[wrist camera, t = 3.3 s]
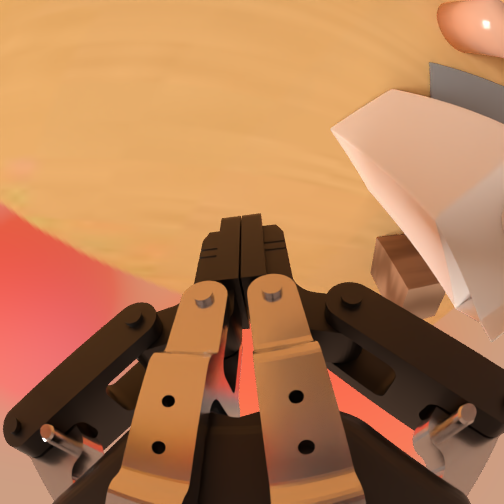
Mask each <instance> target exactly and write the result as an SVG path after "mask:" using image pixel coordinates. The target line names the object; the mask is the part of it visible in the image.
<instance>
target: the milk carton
mask: <svg viewBox="0 0 504 504" xmlns="http://www.w3.org/2000/svg"><path fill="white" fill-rule="evenodd" d="M331 131H332V133H333V134H334V136H335V137H336V139H337V140H338V142H339V143H340V145H341V146H342V148H343V149H344V151H345V152H346V154H347V155H348V157H349V159H350V160H351V162H352V163H353V165H354V167H355V168H356V170H357V171H358V173H359V175H360V176H361V178H362V180H363V181H364V183H365V185H366V187H367V188H368V190H369V191H370V192H371V194H372V195H373V196H374V197H375V198H376V199H377V200H378V202H379V203H380V204H381V205H382V206H383V208H384V209H385V210H386V211H387V212H388V214H389V215H390V216H391V217H392V218H393V220H394V221H395V222H396V223H397V225H398V226H399V227H400V228H401V230H402V231H403V232H404V234H405V235H406V236H407V237H408V239H409V240H410V241H411V243H412V244H413V245H414V247H415V248H416V249H417V251H418V252H419V254H420V255H421V256H422V258H423V259H424V261H425V262H426V263H427V265H428V266H429V268H430V269H431V271H432V272H433V274H434V275H435V277H436V278H437V280H438V281H439V283H440V284H441V286H442V287H443V289H444V290H445V292H446V294H447V295H448V297H449V298H450V300H451V302H452V303H453V305H454V307H455V309H456V310H458V311H460V312H462V313H464V314H466V315H467V316H469V317H471V318H473V319H474V320H476V321H478V322H480V323H481V325H482V327H483V329H484V331H485V332H486V334H487V336H488V338H489V340H490V341H491V342H493V341H494V340H496V339H497V338H498V337H500V336H501V335H502V334H503V333H504V124H502V123H500V122H498V121H496V120H493V119H491V118H489V117H486V116H484V115H481V114H479V113H476V112H473V111H471V110H468V109H465V108H462V107H459V106H456V105H453V104H450V103H447V102H443V101H440V100H437V99H433V98H429V97H426V96H422V95H418V94H414V93H410V92H405V91H401V90H396V89H391V90H389V91H387V92H385V93H384V94H382V95H380V96H379V97H377V98H376V99H374V100H372V101H371V102H369V103H368V104H366V105H365V106H363V107H361V108H360V109H358V110H357V111H355V112H354V113H352V114H351V115H349V116H348V117H346V118H345V119H343V120H342V121H340V122H339V123H337V124H336V125H334V126H333V127H332V128H331Z"/></svg>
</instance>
